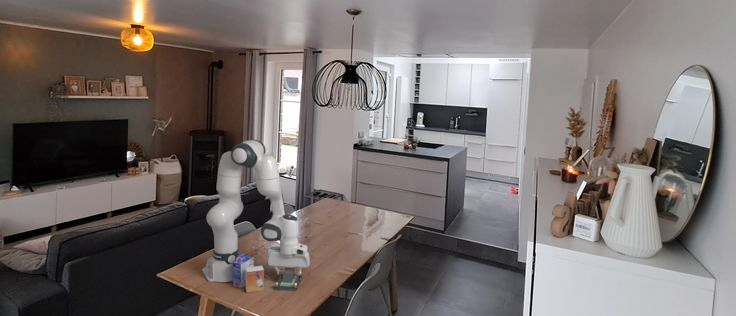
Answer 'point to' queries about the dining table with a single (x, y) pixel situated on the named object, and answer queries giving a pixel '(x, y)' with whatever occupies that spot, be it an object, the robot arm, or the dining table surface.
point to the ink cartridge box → (241, 270)
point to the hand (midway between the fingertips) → (288, 274)
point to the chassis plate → (288, 288)
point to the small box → (254, 279)
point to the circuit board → (288, 277)
